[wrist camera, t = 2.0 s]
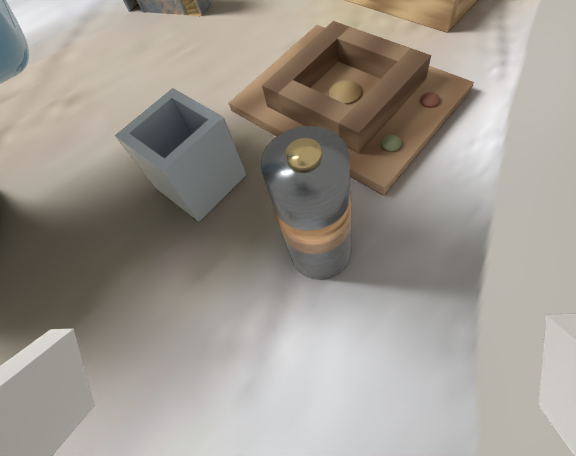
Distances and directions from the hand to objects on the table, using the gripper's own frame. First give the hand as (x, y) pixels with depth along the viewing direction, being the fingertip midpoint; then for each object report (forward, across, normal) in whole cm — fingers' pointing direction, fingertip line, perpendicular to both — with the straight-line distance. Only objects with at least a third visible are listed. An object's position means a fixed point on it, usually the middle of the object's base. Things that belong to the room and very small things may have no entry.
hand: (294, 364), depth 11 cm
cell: (+18, 0, -3) cm, 19 cm away
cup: (+24, -11, +2) cm, 26 cm away
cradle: (+30, +3, +8) cm, 31 cm away
